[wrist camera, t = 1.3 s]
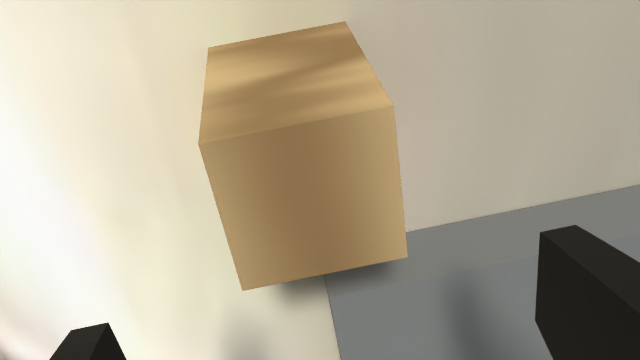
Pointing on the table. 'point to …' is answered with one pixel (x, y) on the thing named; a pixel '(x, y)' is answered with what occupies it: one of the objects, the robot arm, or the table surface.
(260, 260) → the oak block
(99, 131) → the table surface
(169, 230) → the table surface
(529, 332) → the slate stand
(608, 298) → the robot arm
